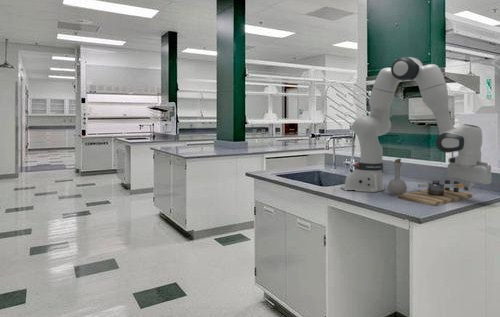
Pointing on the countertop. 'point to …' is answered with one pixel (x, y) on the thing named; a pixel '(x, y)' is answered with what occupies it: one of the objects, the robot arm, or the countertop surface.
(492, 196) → the countertop surface
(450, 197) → the stand
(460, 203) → the countertop surface
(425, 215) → the countertop surface
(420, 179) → the countertop surface
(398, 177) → the potion bottle
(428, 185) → the capstan
